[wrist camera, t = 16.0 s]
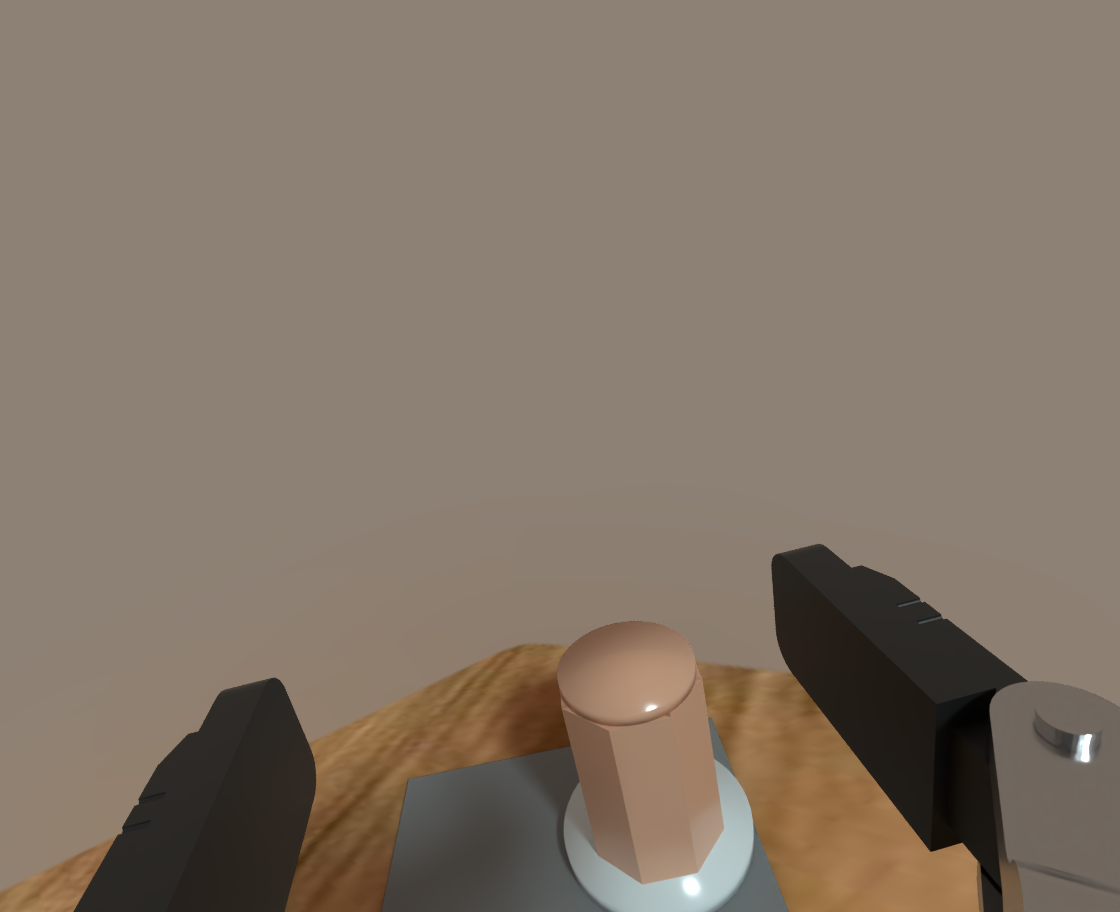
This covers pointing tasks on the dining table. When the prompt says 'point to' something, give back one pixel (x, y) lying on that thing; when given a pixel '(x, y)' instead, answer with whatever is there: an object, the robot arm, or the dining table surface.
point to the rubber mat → (512, 842)
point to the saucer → (679, 903)
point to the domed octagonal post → (642, 748)
